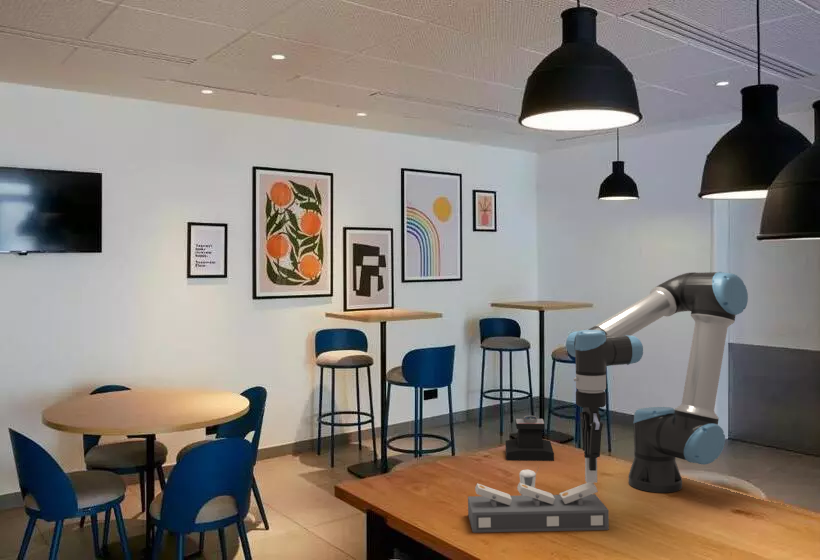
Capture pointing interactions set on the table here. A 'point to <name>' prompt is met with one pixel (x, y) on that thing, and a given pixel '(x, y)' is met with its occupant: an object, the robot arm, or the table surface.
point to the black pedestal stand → (529, 442)
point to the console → (537, 514)
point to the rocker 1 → (493, 494)
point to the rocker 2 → (578, 492)
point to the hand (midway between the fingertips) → (591, 481)
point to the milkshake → (528, 477)
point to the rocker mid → (535, 493)
